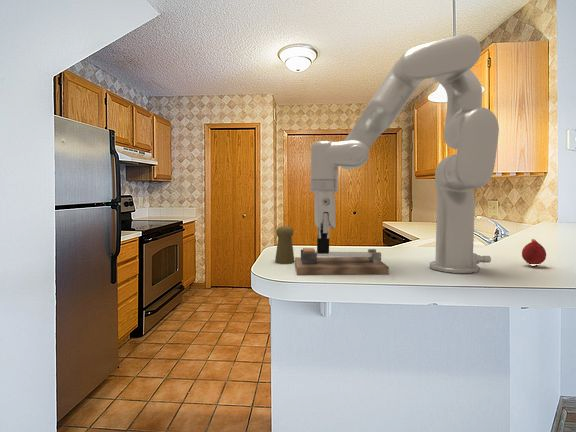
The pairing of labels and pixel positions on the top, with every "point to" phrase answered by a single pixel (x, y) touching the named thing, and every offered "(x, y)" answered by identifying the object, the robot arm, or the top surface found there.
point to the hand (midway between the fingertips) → (322, 252)
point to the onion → (534, 253)
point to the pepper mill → (284, 246)
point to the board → (340, 265)
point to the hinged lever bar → (339, 253)
